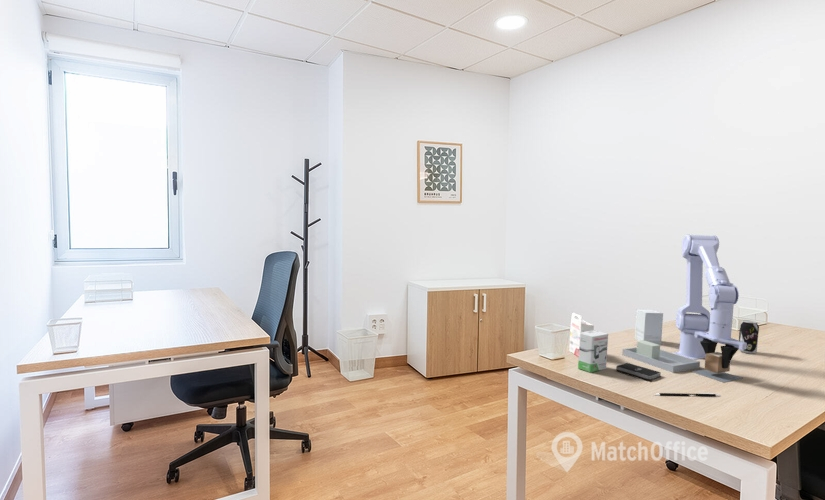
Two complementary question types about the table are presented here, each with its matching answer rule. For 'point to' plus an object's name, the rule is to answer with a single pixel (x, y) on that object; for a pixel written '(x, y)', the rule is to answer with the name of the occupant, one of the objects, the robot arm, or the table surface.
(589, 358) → the ink box
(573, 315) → the ink cartridge box
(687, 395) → the pen
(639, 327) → the supplement box
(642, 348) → the sage block
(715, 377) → the slate mat
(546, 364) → the table surface
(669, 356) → the grey bin
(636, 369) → the external hard drive
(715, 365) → the labelled block
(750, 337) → the beverage can
